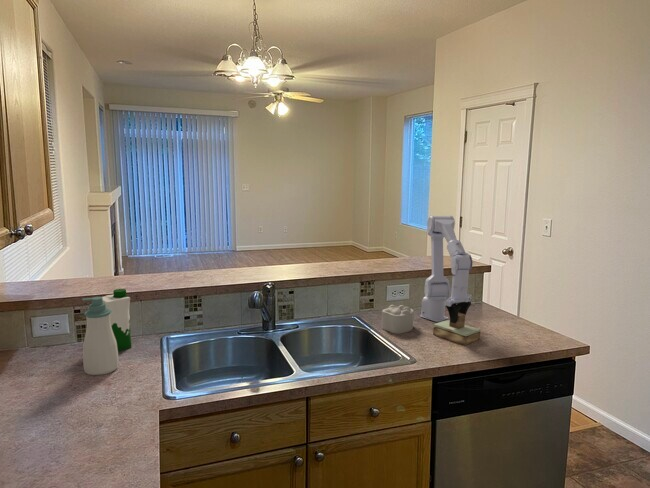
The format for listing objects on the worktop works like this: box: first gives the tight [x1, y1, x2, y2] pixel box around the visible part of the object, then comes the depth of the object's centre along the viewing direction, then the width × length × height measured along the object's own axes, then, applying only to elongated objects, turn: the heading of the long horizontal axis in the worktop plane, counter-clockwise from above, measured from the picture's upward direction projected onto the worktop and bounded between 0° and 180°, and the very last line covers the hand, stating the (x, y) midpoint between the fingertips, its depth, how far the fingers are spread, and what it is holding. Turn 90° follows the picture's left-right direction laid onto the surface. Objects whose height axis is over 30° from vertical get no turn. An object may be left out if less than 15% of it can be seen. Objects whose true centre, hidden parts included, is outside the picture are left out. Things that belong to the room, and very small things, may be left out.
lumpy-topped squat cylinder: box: [381, 304, 415, 334], centre depth 184 cm, size 10×13×9 cm
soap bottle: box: [81, 296, 120, 376], centre depth 140 cm, size 10×10×23 cm
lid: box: [433, 319, 481, 336], centre depth 175 cm, size 14×10×1 cm
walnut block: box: [449, 313, 466, 329], centre depth 174 cm, size 4×4×5 cm
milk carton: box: [101, 288, 132, 352], centre depth 157 cm, size 9×9×20 cm
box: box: [432, 326, 481, 346], centre depth 175 cm, size 14×10×3 cm
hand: (457, 321), depth 174 cm, fingers open, 5 cm apart
